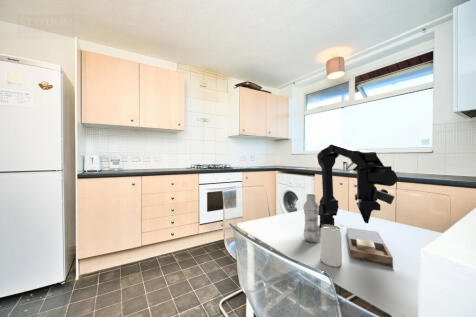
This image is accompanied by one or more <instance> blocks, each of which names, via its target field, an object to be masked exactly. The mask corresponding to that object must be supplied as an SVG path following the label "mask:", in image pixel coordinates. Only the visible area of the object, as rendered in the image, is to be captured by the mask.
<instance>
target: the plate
mask: <svg viewBox="0 0 476 317" xmlns="http://www.w3.org/2000/svg"><path fill="white" fill-rule="evenodd" d="M346 238H347V240H348V239H351V243H352V245H357V241H356V239H359V240H365V241H371V242H373V243H374V245H375V249H381V250H383V245H382V244H385V242H384V240H383V238H382V237H381V235H380V233H379V232H378V231H376V230H375V231H374V230H370V229H369V230H367V229H361V228H353V227H346ZM347 245H348V247H349V244H348V243H347ZM385 245H386V244H385Z"/></svg>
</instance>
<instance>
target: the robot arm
mask: <svg viewBox="0 0 476 317" xmlns="http://www.w3.org/2000/svg"><path fill="white" fill-rule="evenodd" d="M339 156H342V157H345V158H348V160H350V162H351V163H353V164H355V167H353V168H352V171H354V172H356V193H355V194H354V201H357V202H356V206H357V208H358V211H359V213H360V215H361V218H362V220H363V222H364V224H369V221H370V219H371V215H372V212H373V211H381V210H382V208H381V204H380V203H379V202H378V200H379V201H381V202H384V203H386V204H389V205H392V204H393V201H394V199H395V196H394V195H392V194H390V193H389V191H388V190H387V189H384V188H382V189H378V188H377V186H376V185H378V186H386V187H392V186H394V185H396V184H397V181H398V175H397V173H396V172H395V171H394V170H393V169H392V166H391V165H389V166H388V165H386V166H385V165H384V164H383V162H382V161H381V159H380V157H379V156H378V155H377V152H376V151H374V150H364V149H363V150H360V149H355V148H352V147H349V146H345V145H342V144H340V143H331V144H330V145H328V146H327V147H325V148H323V149H321V150H320V151H319V152H318V154H317V156H316V159H317V163H318V165H319V167H320V168H321V186H322V197H321V198H320V199H319V204H318V206H319V212H318V216H319V225H318V228H320V229H322V225H334V226H335V218H334V216H337V215H338V210H339V208H340V207H339V200H338V199H336V198H335V196H334V180H333V179H334V178H333V167H334V166H335V164H336V160H337V158H338V157H339Z"/></svg>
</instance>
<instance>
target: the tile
mask: <svg viewBox="0 0 476 317" xmlns="http://www.w3.org/2000/svg"><path fill="white" fill-rule="evenodd" d="M356 241H357V250H359V251H365V252H370V253H375V245H374V243H373V242H371V241H365V240H359V239H356Z"/></svg>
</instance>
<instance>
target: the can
mask: <svg viewBox="0 0 476 317" xmlns="http://www.w3.org/2000/svg"><path fill="white" fill-rule="evenodd" d="M342 242H343V241H342V232H341V227H339V226H337V225H335V224H334V225H322V228H320V260H321V262H322V264H325V265H326V266H328V267H333V268H339V267H341V266H342V264H343V250H342V248H343V247H342V245H343V244H342Z"/></svg>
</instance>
